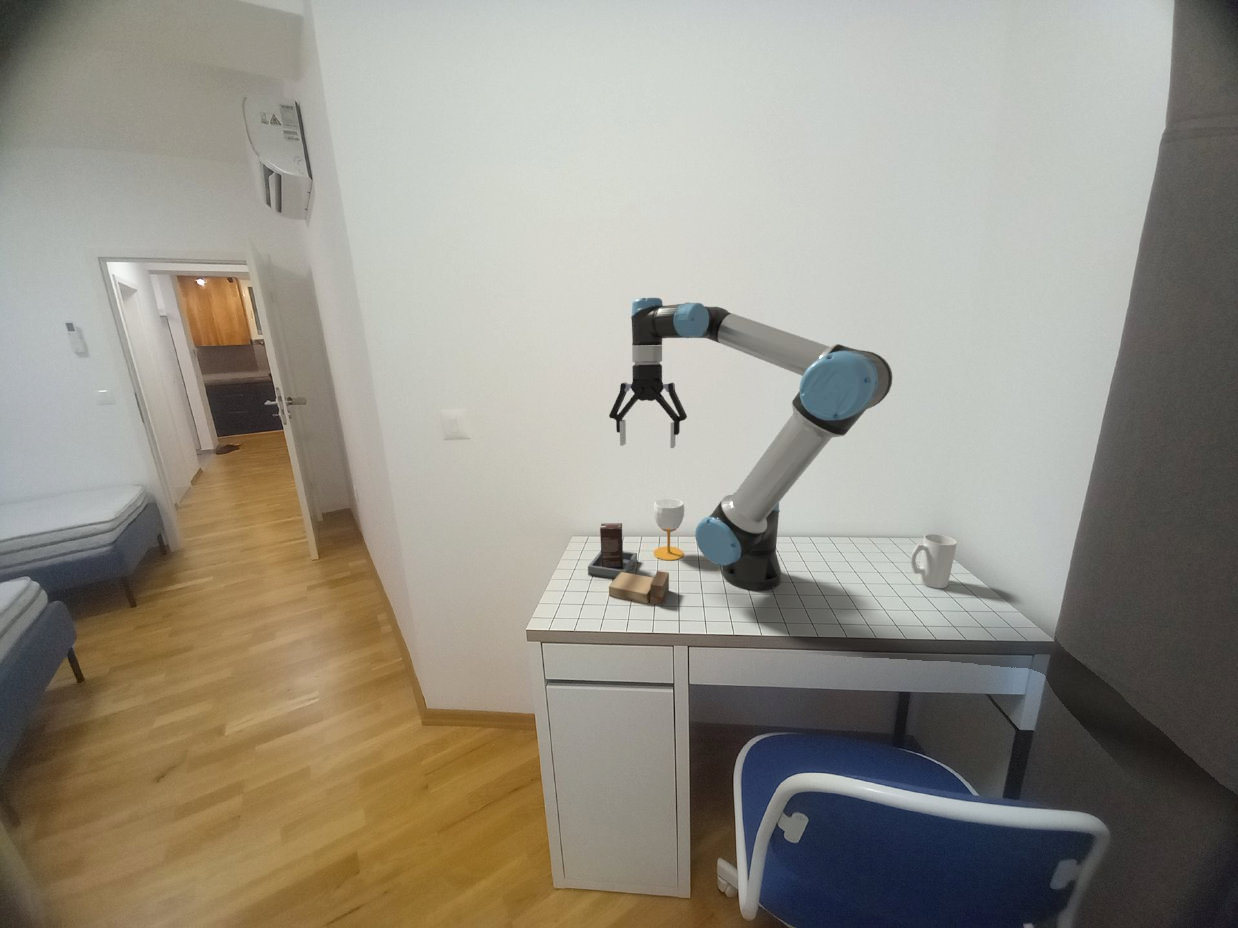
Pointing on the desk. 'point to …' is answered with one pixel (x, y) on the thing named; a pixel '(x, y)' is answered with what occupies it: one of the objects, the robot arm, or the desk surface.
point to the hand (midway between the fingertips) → (647, 445)
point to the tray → (598, 570)
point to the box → (611, 545)
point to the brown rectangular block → (659, 587)
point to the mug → (934, 560)
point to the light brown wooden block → (631, 587)
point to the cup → (668, 525)
